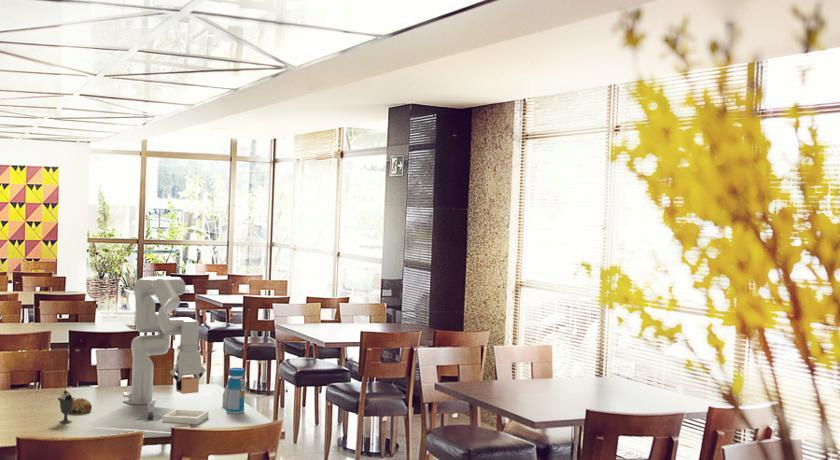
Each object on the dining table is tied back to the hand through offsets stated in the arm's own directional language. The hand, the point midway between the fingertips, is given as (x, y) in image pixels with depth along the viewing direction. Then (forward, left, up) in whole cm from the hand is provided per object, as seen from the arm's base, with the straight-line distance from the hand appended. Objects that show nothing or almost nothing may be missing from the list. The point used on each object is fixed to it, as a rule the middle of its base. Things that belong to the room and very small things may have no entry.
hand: (187, 388), depth 355 cm
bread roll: (-50, +4, -14) cm, 52 cm away
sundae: (-46, -16, -14) cm, 51 cm away
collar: (0, 0, -1) cm, 1 cm away
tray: (0, 0, -14) cm, 14 cm away
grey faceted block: (+10, +31, -14) cm, 36 cm away
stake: (-15, -2, -14) cm, 21 cm away
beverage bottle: (+15, +22, -14) cm, 30 cm away
